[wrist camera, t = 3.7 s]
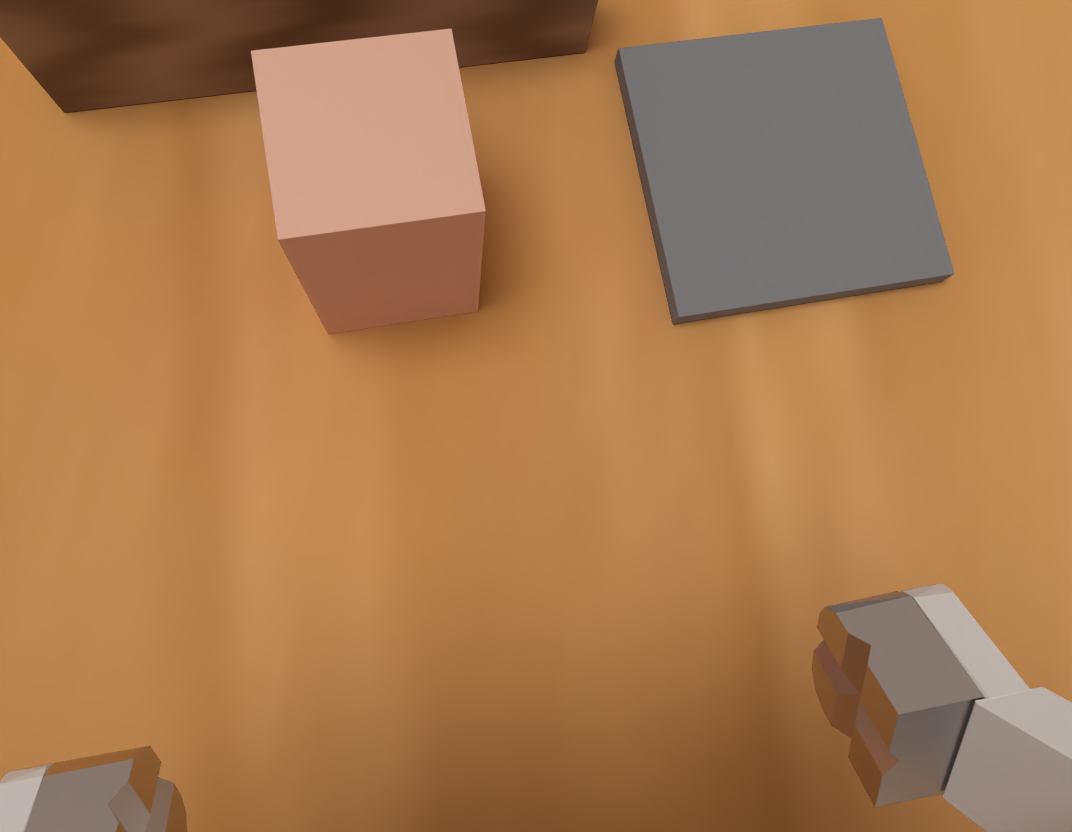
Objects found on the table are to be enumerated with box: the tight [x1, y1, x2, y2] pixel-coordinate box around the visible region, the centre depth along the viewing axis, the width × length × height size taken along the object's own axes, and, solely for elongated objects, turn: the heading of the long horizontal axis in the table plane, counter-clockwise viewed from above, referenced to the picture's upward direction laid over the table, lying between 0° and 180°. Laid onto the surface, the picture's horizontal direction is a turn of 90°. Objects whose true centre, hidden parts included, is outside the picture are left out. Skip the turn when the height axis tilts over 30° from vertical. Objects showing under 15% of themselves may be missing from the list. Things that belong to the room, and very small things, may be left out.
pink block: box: [251, 29, 486, 334], centre depth 25 cm, size 5×5×8 cm
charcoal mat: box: [615, 18, 954, 324], centre depth 30 cm, size 10×10×1 cm
